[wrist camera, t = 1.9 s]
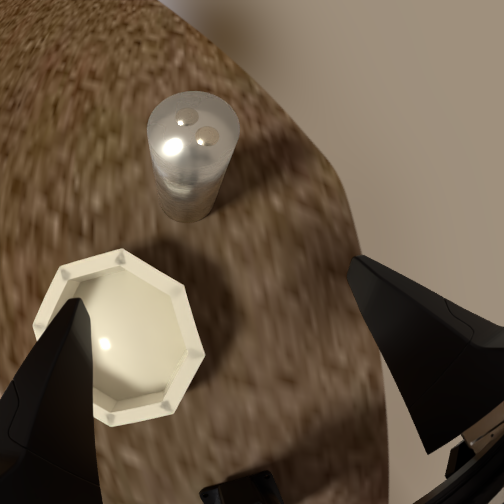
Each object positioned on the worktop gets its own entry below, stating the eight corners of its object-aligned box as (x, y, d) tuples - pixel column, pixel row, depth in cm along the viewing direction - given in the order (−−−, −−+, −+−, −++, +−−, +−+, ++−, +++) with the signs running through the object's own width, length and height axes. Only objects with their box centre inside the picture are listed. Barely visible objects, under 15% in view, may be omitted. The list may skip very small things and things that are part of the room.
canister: (221, 215, 23) (252, 155, 13) (165, 229, 22) (154, 175, 12) (207, 165, 23) (227, 83, 13) (154, 176, 22) (141, 97, 12)
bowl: (215, 385, 21) (221, 400, 17) (84, 415, 18) (71, 432, 14) (172, 244, 22) (170, 235, 18) (43, 281, 19) (22, 277, 15)
